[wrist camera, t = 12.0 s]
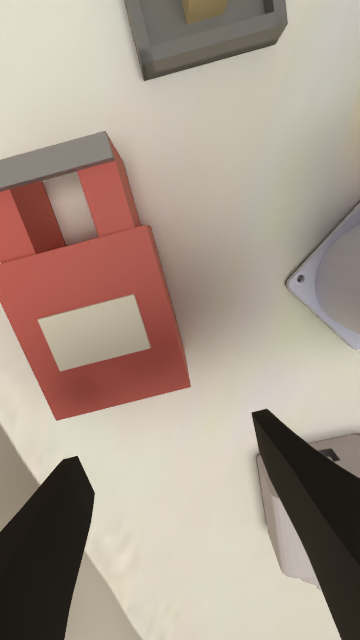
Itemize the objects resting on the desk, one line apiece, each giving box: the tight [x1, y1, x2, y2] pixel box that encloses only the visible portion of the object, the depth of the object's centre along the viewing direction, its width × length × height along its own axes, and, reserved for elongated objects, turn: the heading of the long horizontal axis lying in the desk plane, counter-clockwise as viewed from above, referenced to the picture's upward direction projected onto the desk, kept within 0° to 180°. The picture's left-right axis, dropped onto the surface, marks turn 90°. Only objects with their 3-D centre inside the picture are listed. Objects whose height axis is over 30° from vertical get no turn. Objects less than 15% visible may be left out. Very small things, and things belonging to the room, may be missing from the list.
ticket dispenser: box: [0, 131, 191, 421], centre depth 16 cm, size 13×8×5 cm, turn 14°
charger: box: [257, 434, 360, 590], centre depth 24 cm, size 5×9×15 cm
